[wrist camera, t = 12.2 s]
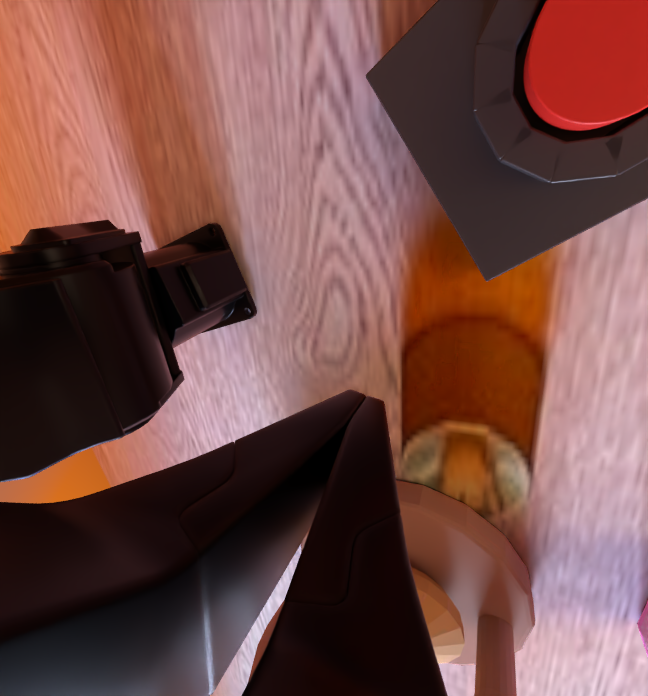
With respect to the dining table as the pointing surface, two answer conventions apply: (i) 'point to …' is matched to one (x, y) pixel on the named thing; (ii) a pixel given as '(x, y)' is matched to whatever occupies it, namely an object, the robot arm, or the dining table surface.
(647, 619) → the gum box
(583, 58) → the button
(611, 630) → the dining table surface
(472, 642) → the hourglass
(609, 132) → the button box
